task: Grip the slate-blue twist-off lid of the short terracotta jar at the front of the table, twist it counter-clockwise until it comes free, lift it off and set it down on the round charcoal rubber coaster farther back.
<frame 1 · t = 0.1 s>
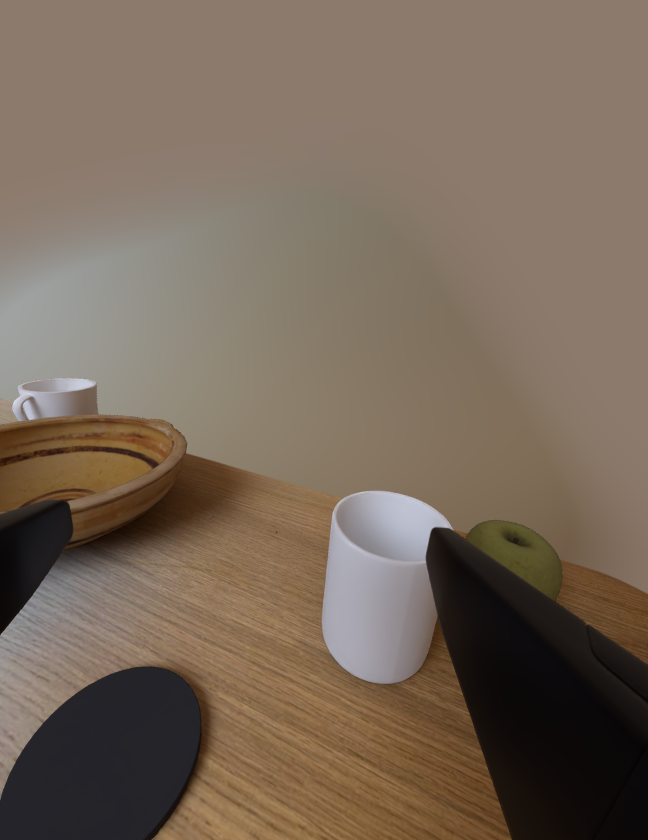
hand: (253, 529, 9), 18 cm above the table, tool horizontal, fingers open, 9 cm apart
apple: (496, 605, 31), on the table
mug 2: (64, 455, 51), on the table
mug: (378, 617, 29), on the table
ceramic bowl: (69, 520, 37), on the table
coaster: (112, 757, 18), on the table
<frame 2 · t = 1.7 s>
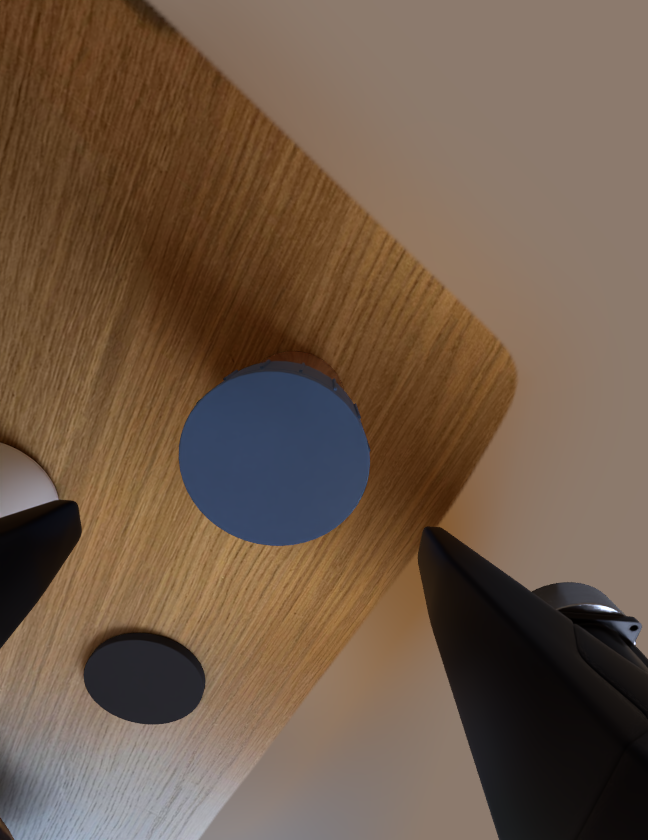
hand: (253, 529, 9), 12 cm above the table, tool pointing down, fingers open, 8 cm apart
jar: (294, 402, 20), on the table
jar lid: (276, 461, 12), point 8 cm above the table, screwed on, not yet turned
coaster: (147, 676, 27), on the table
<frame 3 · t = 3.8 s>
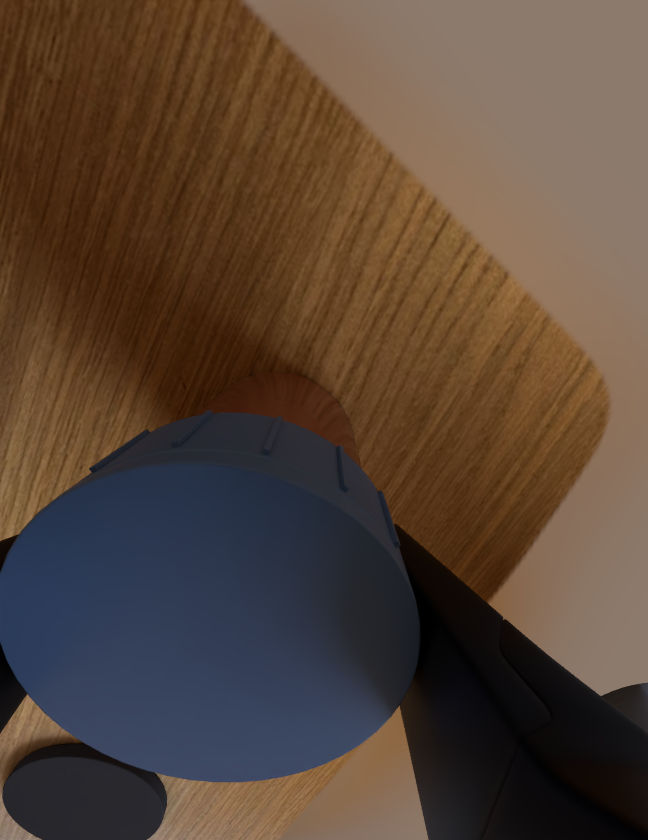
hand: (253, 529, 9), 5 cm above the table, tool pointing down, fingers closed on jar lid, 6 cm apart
jar: (278, 447, 14), on the table
jar lid: (219, 630, 6), point 8 cm above the table, screwed on, not yet turned, touching gripper
coaster: (90, 793, 20), on the table
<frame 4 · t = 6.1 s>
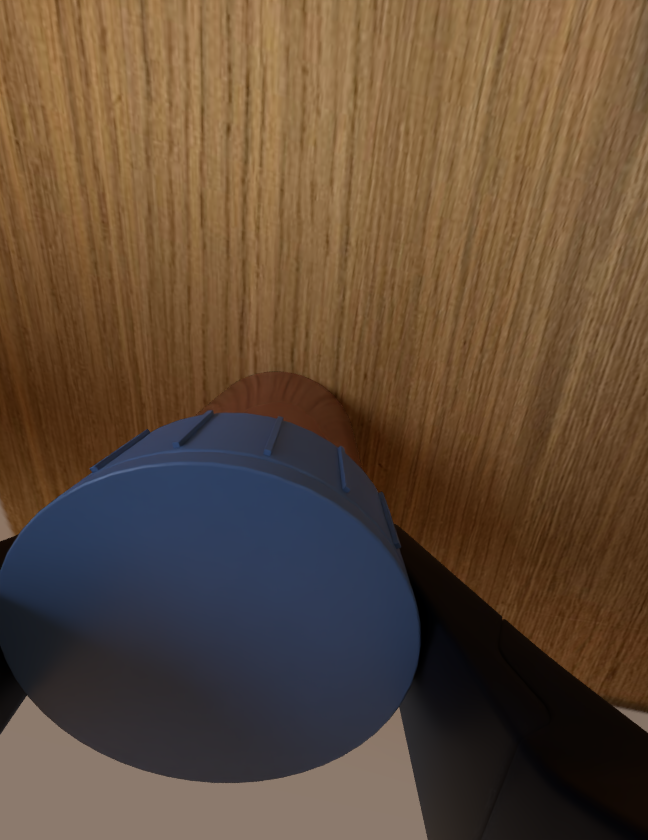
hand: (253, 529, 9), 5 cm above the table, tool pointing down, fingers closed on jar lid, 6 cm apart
jar: (278, 446, 14), on the table
jar lid: (219, 631, 6), point 8 cm above the table, off its thread, touching gripper
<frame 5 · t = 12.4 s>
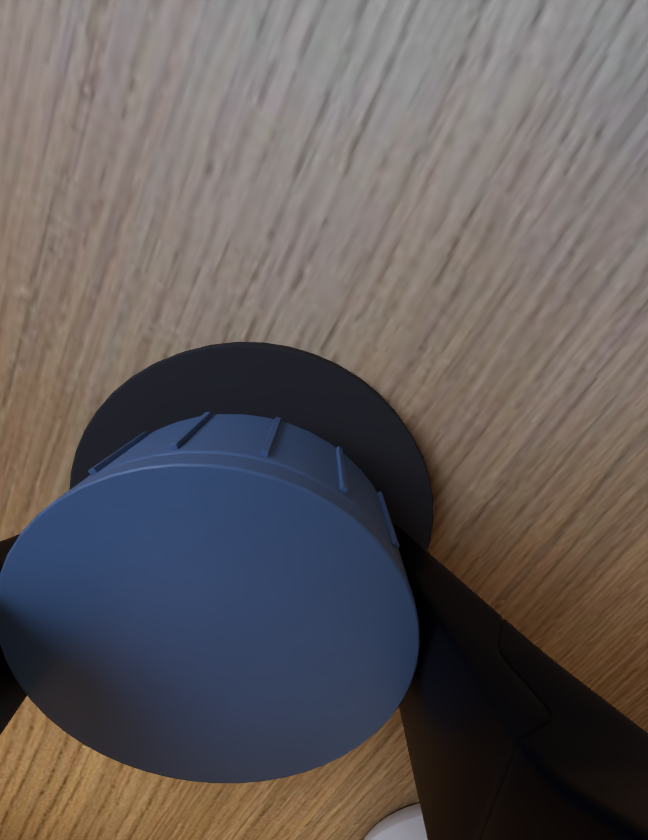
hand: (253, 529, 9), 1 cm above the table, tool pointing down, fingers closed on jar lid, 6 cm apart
jar lid: (218, 631, 6), point 3 cm above the table, off its thread, touching gripper
coaster: (257, 514, 9), on the table
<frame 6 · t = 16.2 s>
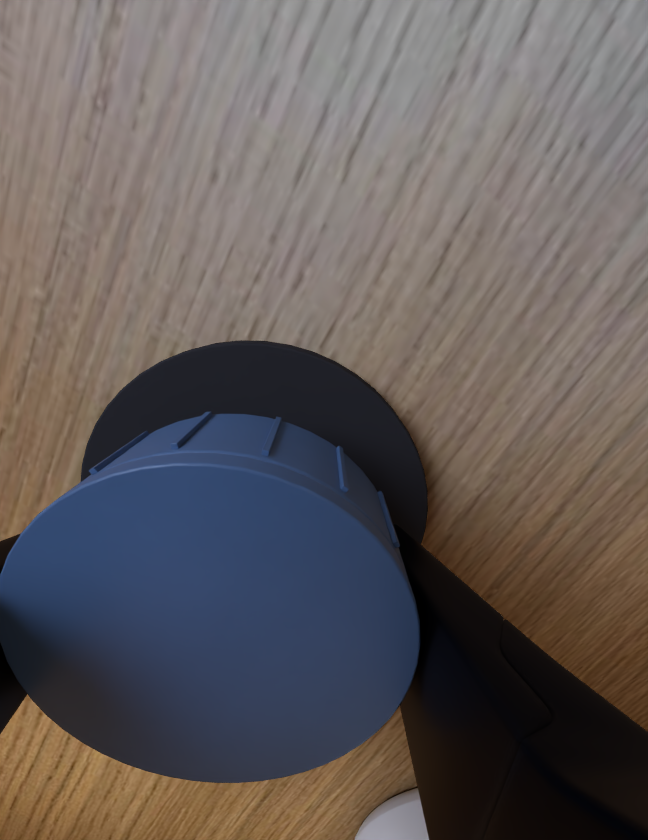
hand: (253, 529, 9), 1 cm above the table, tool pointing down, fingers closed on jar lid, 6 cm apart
jar lid: (219, 631, 6), point 4 cm above the table, off its thread, touching gripper
coaster: (259, 505, 10), on the table
when the fingers open (1 cm above the table, at t = 19.9 s): jar lid drops 2 cm, resting on coaster.
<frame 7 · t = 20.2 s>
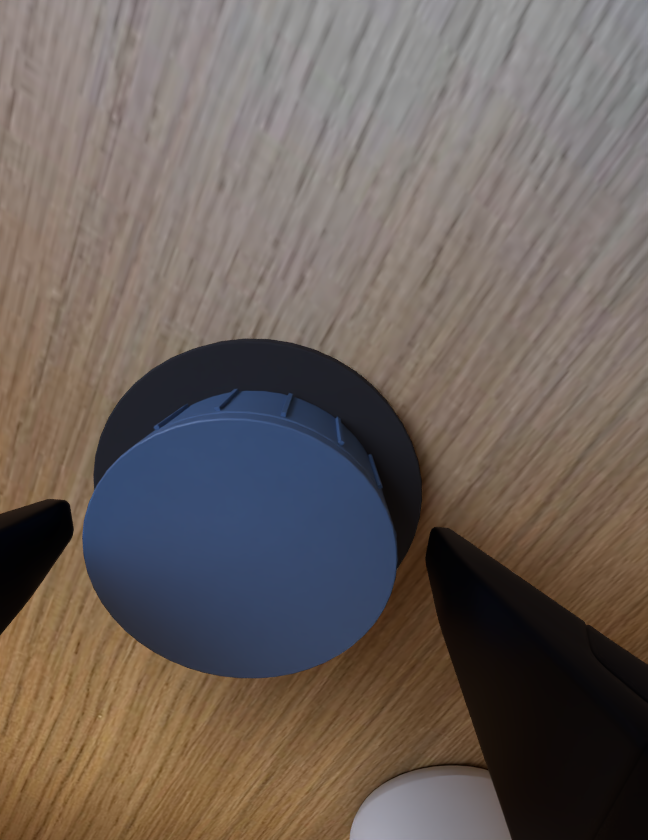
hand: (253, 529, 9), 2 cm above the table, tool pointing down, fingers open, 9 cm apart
jar lid: (245, 554, 8), point 2 cm above the table, off its thread, touching coaster
mug: (474, 823, 15), on the table
coaster: (262, 495, 10), on the table
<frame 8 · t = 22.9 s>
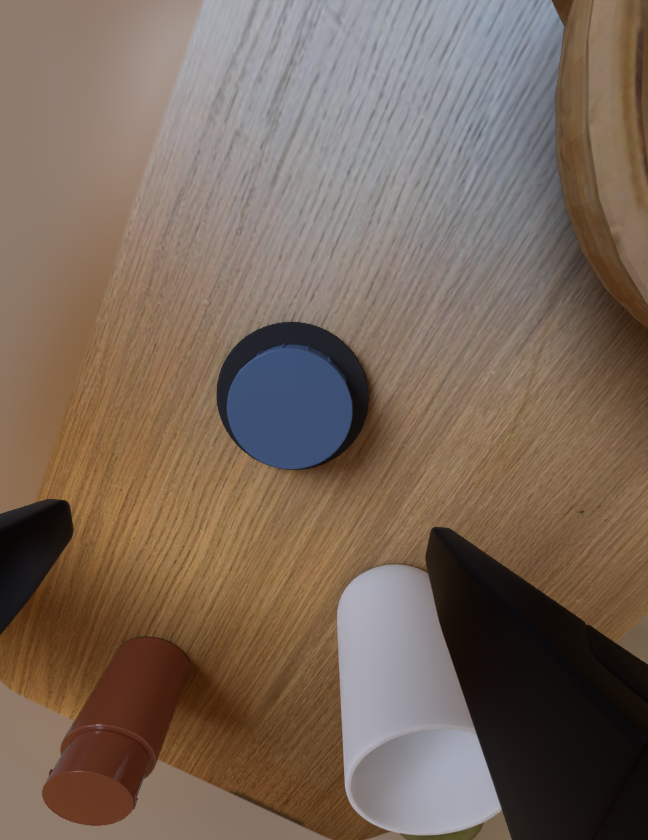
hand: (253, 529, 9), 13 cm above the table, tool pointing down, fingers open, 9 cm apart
jar: (152, 664, 28), on the table
apple: (413, 711, 30), on the table
jar lid: (290, 410, 19), point 2 cm above the table, off its thread, touching coaster
mug: (411, 611, 26), on the table
coaster: (293, 398, 21), on the table
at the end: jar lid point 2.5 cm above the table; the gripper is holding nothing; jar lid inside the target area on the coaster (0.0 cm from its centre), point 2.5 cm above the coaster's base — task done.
